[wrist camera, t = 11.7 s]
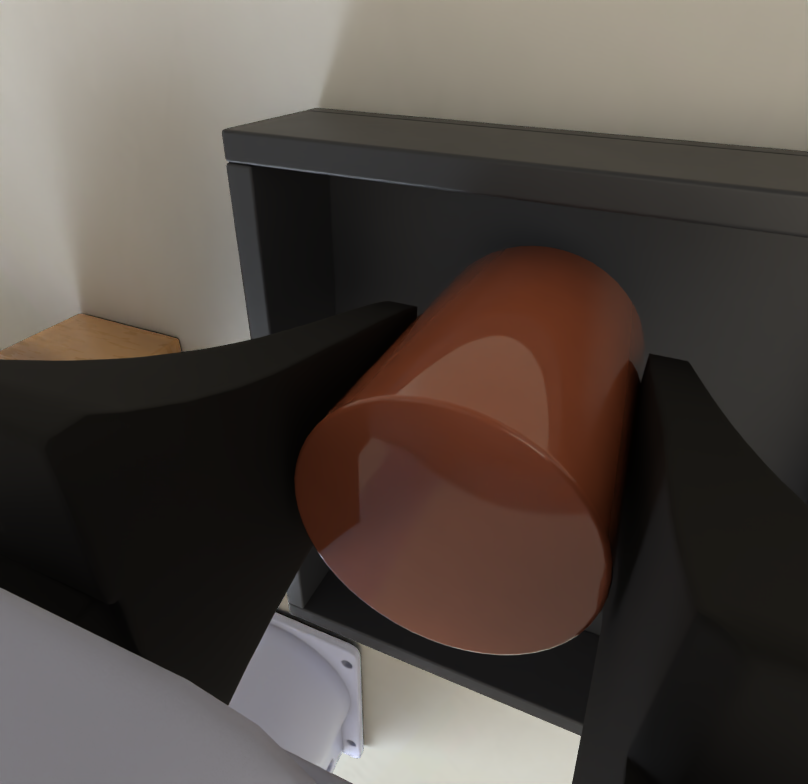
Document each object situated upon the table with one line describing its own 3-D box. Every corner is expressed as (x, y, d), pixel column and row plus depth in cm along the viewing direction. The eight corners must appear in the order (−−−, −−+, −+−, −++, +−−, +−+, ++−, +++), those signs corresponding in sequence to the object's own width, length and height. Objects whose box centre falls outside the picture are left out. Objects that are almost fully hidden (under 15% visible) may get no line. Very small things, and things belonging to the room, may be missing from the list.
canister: (616, 456, 12) (572, 699, 8) (430, 407, 13) (303, 591, 9) (672, 264, 10) (657, 457, 5) (441, 229, 11) (277, 361, 7)
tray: (739, 684, 17) (747, 806, 15) (340, 540, 22) (289, 614, 19) (1063, 173, 9) (1217, 237, 6) (315, 107, 13) (219, 129, 11)
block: (202, 443, 22) (87, 542, 18) (112, 414, 23) (-14, 498, 19) (179, 337, 19) (38, 424, 15) (79, 312, 21) (-74, 384, 17)
